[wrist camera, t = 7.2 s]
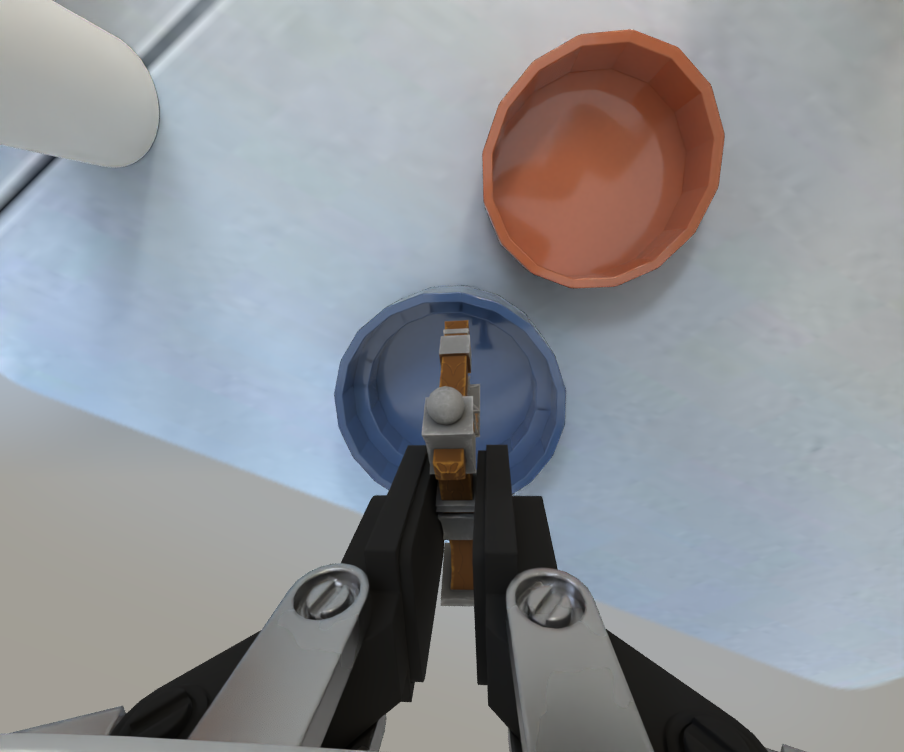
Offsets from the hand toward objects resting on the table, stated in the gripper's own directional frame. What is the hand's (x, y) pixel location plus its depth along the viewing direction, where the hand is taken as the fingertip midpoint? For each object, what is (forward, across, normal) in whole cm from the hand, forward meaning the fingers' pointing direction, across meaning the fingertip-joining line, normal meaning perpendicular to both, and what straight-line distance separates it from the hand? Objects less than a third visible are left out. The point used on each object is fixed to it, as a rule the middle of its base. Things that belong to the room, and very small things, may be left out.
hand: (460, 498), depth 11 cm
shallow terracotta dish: (+17, -6, -10) cm, 21 cm away
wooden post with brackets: (+2, 0, 0) cm, 2 cm away
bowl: (+17, +2, +2) cm, 17 cm away
